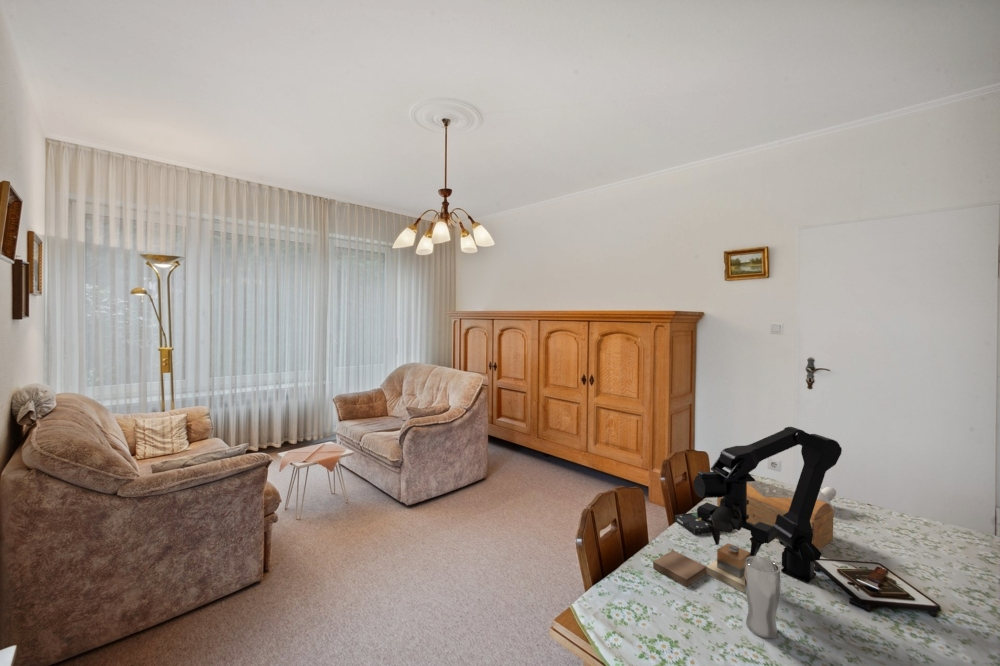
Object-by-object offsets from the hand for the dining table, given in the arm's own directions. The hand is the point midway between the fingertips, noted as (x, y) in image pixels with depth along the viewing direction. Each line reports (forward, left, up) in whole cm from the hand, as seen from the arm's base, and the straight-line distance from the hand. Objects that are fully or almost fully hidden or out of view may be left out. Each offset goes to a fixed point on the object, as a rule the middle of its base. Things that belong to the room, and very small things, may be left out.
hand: (734, 551), depth 111 cm
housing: (0, 0, -5) cm, 5 cm away
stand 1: (+10, +10, -7) cm, 16 cm away
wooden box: (+6, -40, -7) cm, 41 cm away
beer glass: (-13, +15, -7) cm, 21 cm away
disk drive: (+20, -21, -8) cm, 30 cm away
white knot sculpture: (+2, -69, -7) cm, 69 cm away
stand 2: (0, 0, -7) cm, 7 cm away
